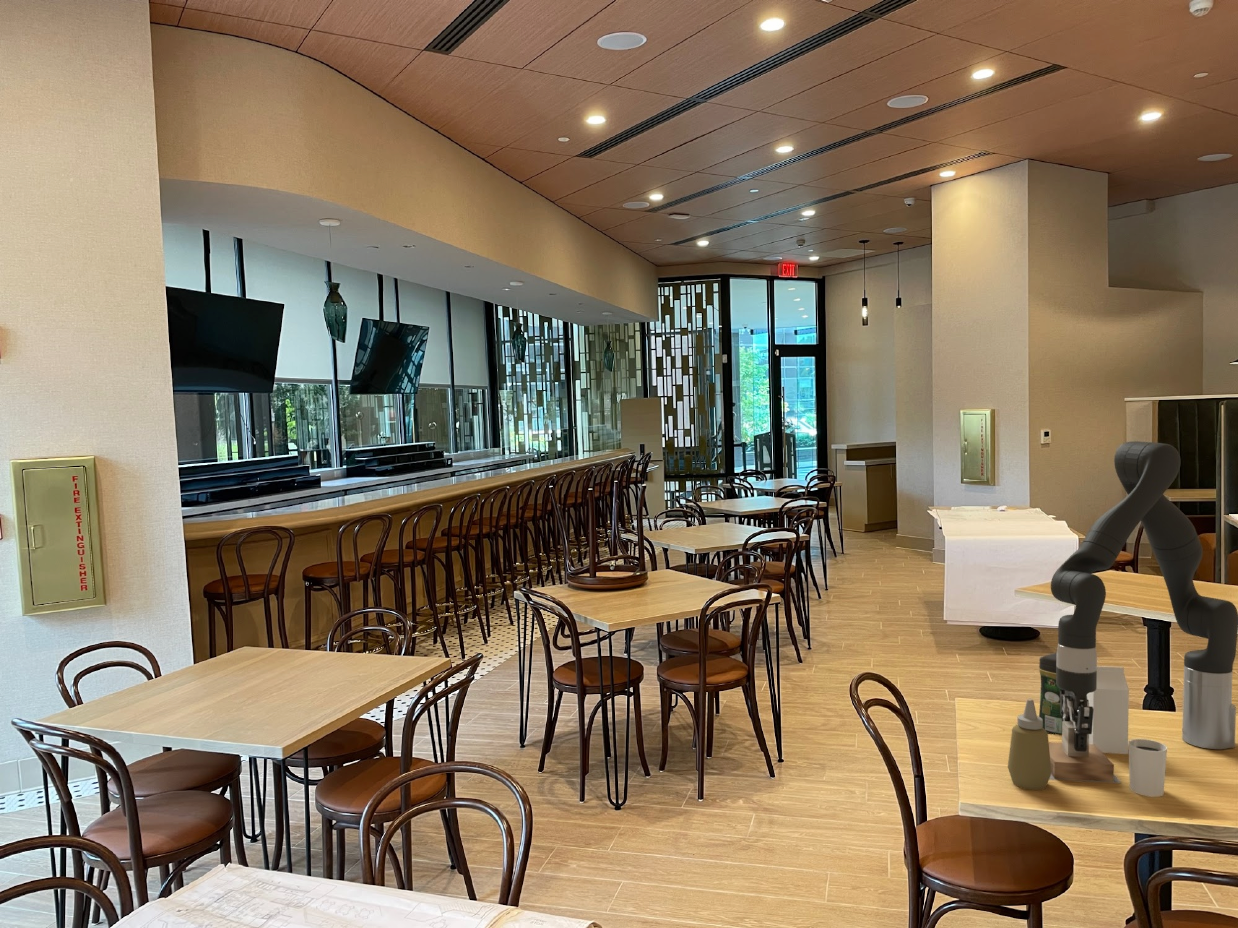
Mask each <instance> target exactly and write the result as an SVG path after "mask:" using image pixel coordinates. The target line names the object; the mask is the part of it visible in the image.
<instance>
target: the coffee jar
mask: <svg viewBox="0 0 1238 928" xmlns="http://www.w3.org/2000/svg"><path fill="white" fill-rule="evenodd" d="M1056 662H1057V651H1056V652H1053V653H1050V654H1046V655H1043V656H1041V657H1039V663H1038V664H1039V665H1038V671H1039V675H1040V697H1039V699H1040V700H1039V715H1038V717H1040V718H1042V720H1043V727H1042V728H1043V729H1045V730H1046V731H1047V733H1048V734H1050V735H1057V736H1058V735H1059V736H1062V721H1064V720H1063V716H1061V714H1060V688H1059V687H1058V686H1057V685H1056Z"/></svg>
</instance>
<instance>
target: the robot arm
mask: <svg viewBox="0 0 1238 928" xmlns="http://www.w3.org/2000/svg"><path fill="white" fill-rule="evenodd" d="M1113 459H1114V460H1113V463H1114V469H1115V473H1116V475H1117V478H1118V479H1119V481H1120V483H1121V485H1122V487H1123V489H1124V490H1125V493H1126V494H1127V495H1126V496H1125V497H1124V498H1123V499H1122V500H1121V501H1119V502H1118V503H1117V504H1115V505H1114V506H1112V507H1111V508H1110V509H1108V510H1107V511H1106V512H1104V513H1103V514H1102V515H1101V516H1099V517H1098V518H1097V519H1096V520H1095V522H1094V523H1093V524H1092V525H1091V527H1090V528H1089V530H1088V532H1087V534H1086V536H1085V537H1084V539H1082V542H1081V544H1080V546H1079V548H1078V549H1077V550H1076V551H1074V552H1073V553H1072V554H1071V555H1070V556H1069V557H1068V558H1067V559H1065V561H1064V562H1063V563H1062V564H1061V565H1060V566H1059V567H1058V568H1057V569H1056V571H1055V572H1054V573H1053V576H1052V578H1051V581H1050V592H1051V593H1052V596H1053V597H1054V598H1055V599H1056V600H1057V601H1060V602H1062V603H1066V604H1070V605H1073V606H1075V609H1074V611H1073V613H1072V614H1066V615H1063V616H1061V617H1060V618H1059V620H1058V625H1057V626H1058V627H1057V630H1058V633H1057V636H1058V638H1057V649H1056V652H1057V662H1056V685H1057V686H1058V687H1059V688H1060V714H1061V716H1063V720H1064V721H1070V722H1073V725H1074V732H1075V733H1074V749H1075V750H1076V751H1080V752H1085V751H1086V750H1087V734H1092V722H1093V711H1094V709H1093V707H1090V706H1089V700H1087V694H1088V693H1090V692H1094V691H1095V690H1096V688H1097V666H1098V656H1097V648H1096V646H1097V643H1096V642H1097V627H1098V623H1099V620H1100V617H1101V614H1102V610H1103V607H1104V605H1105V601H1106V596H1107V591H1106V586H1105V583H1104V581H1103V579H1101V577H1099V576H1098V575H1096V574H1093V573H1095V572H1097V571H1105V570H1109V569H1110V568H1111V567H1113V565H1114V564H1115V562H1116V560H1117V558H1118V557H1119V555H1120V553H1121V551H1122V550H1123V548H1124V546H1125V544H1126V542H1127V541H1128V539H1129V538H1130V536H1131V535H1132V533H1133V531H1134V530H1135V529H1136V527H1137V526H1138V525H1139V523H1140V522H1141V525H1142V526H1143V529H1144V532H1145V535H1146V537H1147V540H1148V543H1149V546H1150V547H1151V550H1152V552H1153V555H1154V558H1155V559H1156V562H1157V564H1158V567H1159V568H1160V572H1161V574H1162V578H1163V580H1164V583H1165V586H1166V589H1167V591H1168V596H1169V599H1170V603H1171V607H1172V608H1171V609H1172V610H1173V614H1174V618H1175V620H1176V623H1177V626H1178V627H1179V628H1180V629H1181V631H1182V632H1183V633H1185V634H1188V635H1191V636H1194V637H1199V638H1203V639H1208V640H1207V645H1206V648H1205V649H1196V650H1195V649H1194V650H1190V651H1188V652H1185V654H1184V658H1183V688H1182V689H1183V692H1182V693H1183V695H1182V699H1183V700H1182V728H1181V731H1182V733H1181V735H1182V737H1181V739H1182V741H1184V742H1185V743H1188V744H1190V745H1192V746H1195V747H1200V748H1202V749H1203V748H1204V749H1209V750H1227V749H1230V748H1232V749H1233V748H1235V747H1236V719H1237V718H1236V717H1237V716H1236V714H1237V707H1236V705H1235V704H1233V700H1232V699H1233V671H1234V669H1233V668H1234V663H1235V659H1236V655H1237V641H1238V609H1237V607H1236V605H1235V604H1234V603H1233V602H1231V601H1229V600H1226V599H1220V598H1215V597H1210V596H1203V595H1201V594H1200V593H1199V592H1198V591H1197V589H1196V586H1195V583H1194V580H1193V579H1194V575H1195V574H1196V571H1197V569H1198V568H1199V567H1200V566H1199V565H1200V564H1201V561H1202V558H1203V555H1204V553H1203V551H1204V550H1203V547H1202V543H1201V540H1200V538H1199V535H1198V533H1197V530H1196V528H1195V526H1194V525H1193V522H1192V521H1191V520H1190V519H1189V517H1188V516H1187V515H1186V514H1184V513H1183V512H1182V510H1180V509H1179V508H1178V507H1177V505H1175V504H1174V503H1173V502H1172V501H1170V499H1168V498H1167V497H1166V496H1165V494H1164V493H1166V491H1167V490H1168V489H1169V488H1170V487H1171V485H1172V483H1174V481H1175V479H1176V478H1177V475H1179V473H1180V468H1181V464H1182V463H1181V455H1180V453H1179V451H1178V450H1177V448H1175V446H1173V445H1172V444H1168V443H1162V442H1150V441H1149V442H1148V441H1136V440H1135V441H1127V442H1123V443H1122V444H1120V445H1119V446H1117V448H1116V451H1115V454H1114V458H1113ZM1077 722H1078V723H1077ZM1082 724H1084V728H1082Z"/></svg>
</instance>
